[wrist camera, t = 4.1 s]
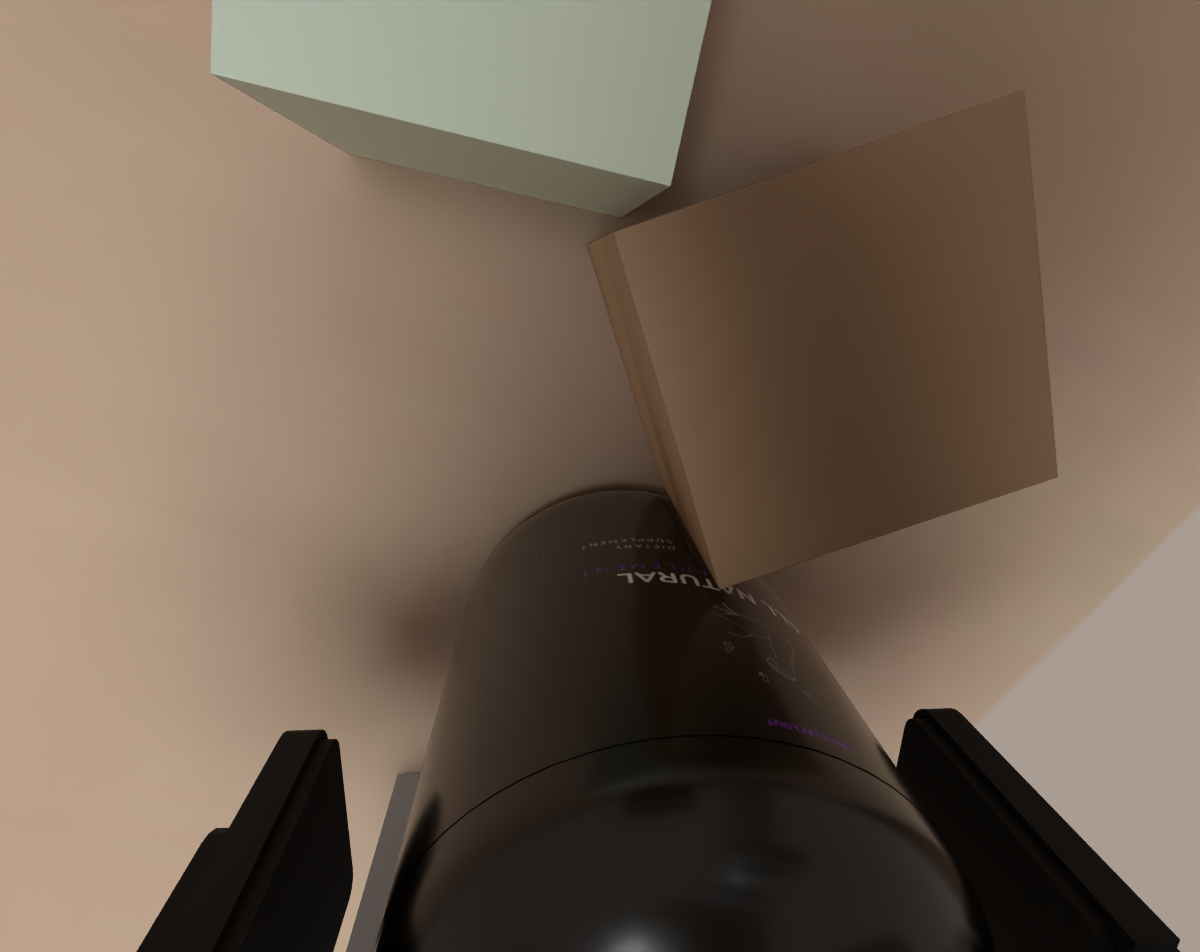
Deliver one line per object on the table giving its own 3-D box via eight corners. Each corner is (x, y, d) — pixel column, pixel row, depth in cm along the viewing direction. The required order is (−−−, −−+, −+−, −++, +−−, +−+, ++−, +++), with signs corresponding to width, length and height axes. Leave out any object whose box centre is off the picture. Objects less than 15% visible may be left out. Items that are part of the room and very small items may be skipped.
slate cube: (601, 750, 16) (624, 955, 11) (610, 897, 17) (635, 1131, 13) (398, 772, 16) (334, 991, 11) (427, 919, 17) (382, 1166, 12)
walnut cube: (835, 158, 12) (1023, 90, 7) (879, 403, 14) (1057, 476, 9) (586, 245, 12) (612, 231, 7) (659, 478, 14) (720, 589, 9)
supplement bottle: (727, 441, 14) (1676, 1349, 2) (780, 697, 16) (1390, 1811, 4) (417, 528, 14) (-234, 1875, 2) (513, 771, 16) (434, 2069, 4)
